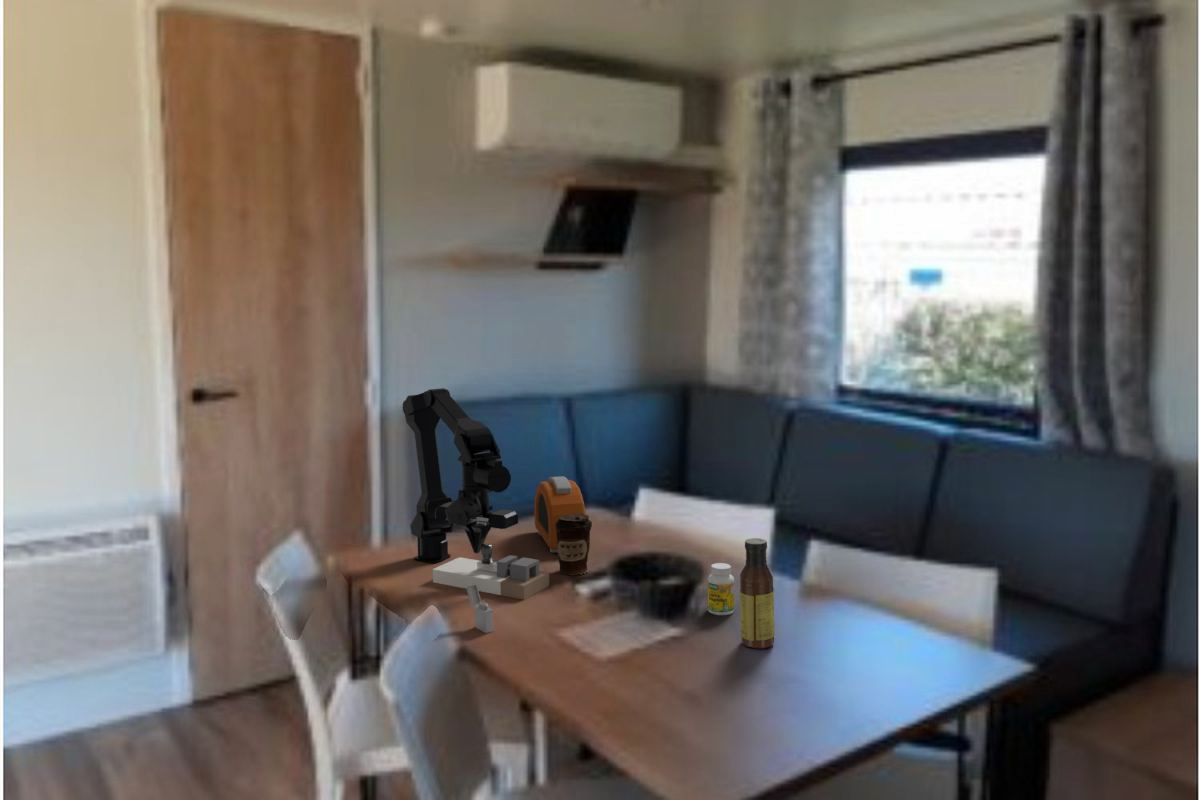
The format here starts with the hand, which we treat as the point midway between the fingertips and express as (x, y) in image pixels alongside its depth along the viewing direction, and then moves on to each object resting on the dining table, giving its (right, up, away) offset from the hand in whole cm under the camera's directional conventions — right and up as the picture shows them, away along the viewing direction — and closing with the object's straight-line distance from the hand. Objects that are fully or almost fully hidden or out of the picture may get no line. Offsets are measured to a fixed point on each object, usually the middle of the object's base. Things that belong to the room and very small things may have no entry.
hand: (476, 552), depth 222 cm
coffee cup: (+21, -6, +8) cm, 23 cm away
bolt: (+5, -4, -2) cm, 7 cm away
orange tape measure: (+17, -2, +31) cm, 36 cm away
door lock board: (+3, -7, -1) cm, 7 cm away
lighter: (+4, -11, -26) cm, 28 cm away
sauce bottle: (+56, -12, -35) cm, 67 cm away
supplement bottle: (+52, -9, -18) cm, 55 cm away
